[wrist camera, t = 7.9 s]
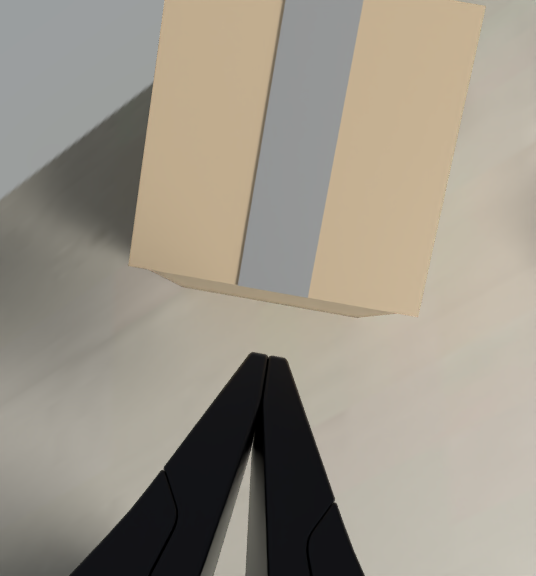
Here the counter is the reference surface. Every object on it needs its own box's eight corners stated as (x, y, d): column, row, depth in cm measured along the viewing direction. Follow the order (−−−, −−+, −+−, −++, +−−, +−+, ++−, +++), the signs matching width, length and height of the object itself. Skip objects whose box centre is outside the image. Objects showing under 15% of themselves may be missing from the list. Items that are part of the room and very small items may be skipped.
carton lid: (409, 312, 15) (419, 317, 14) (137, 264, 15) (127, 265, 14) (472, 21, 14) (487, 4, 13) (178, -29, 14) (170, -51, 13)
